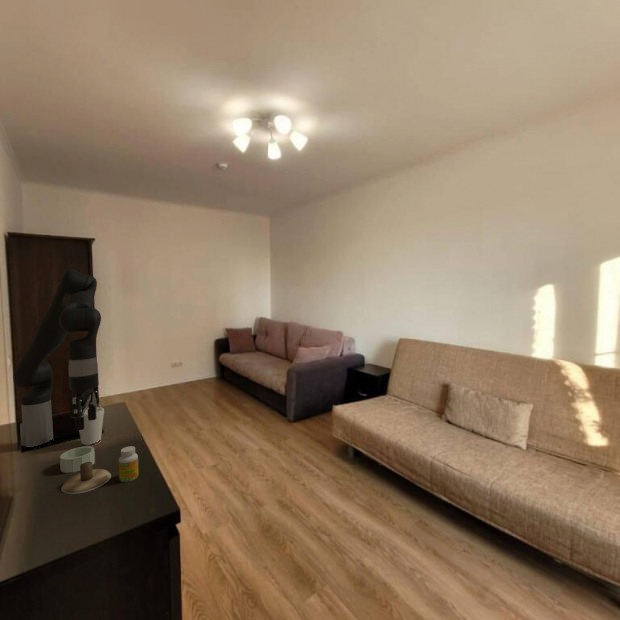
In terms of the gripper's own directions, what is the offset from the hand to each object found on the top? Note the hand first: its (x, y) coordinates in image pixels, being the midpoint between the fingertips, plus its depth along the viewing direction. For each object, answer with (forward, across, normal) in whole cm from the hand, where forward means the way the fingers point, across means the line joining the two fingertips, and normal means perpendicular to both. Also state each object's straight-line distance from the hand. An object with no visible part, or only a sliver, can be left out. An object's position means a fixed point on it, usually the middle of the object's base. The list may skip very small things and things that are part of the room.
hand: (86, 424), depth 105 cm
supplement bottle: (+19, -1, -12) cm, 22 cm away
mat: (+18, 0, +1) cm, 18 cm away
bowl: (+18, +12, +8) cm, 24 cm away
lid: (+18, 0, +1) cm, 18 cm away
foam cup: (+18, +34, +12) cm, 40 cm away
